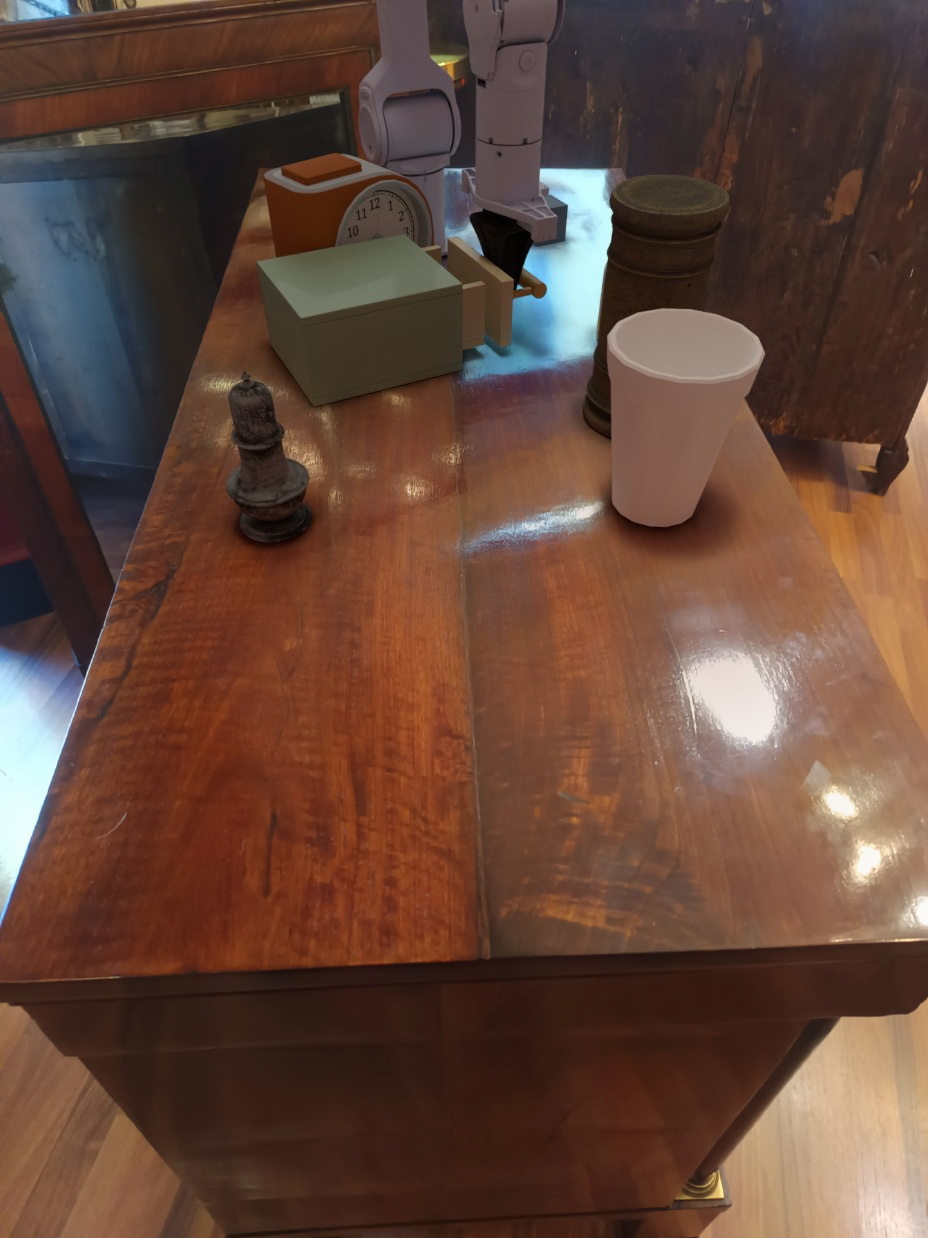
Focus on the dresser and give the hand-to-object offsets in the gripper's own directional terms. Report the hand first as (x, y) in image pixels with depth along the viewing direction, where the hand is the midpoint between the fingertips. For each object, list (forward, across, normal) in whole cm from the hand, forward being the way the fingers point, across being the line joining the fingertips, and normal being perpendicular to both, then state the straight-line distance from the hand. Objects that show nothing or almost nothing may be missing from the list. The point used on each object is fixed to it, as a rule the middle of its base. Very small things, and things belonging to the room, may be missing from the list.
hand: (503, 291), depth 80 cm
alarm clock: (+4, +12, +11) cm, 17 cm away
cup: (+4, -31, +4) cm, 31 cm away
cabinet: (+3, 0, +15) cm, 15 cm away
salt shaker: (+4, -20, +30) cm, 36 cm away
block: (+3, +18, -15) cm, 24 cm away
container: (+4, -20, -2) cm, 20 cm away
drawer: (+2, 0, +6) cm, 7 cm away
